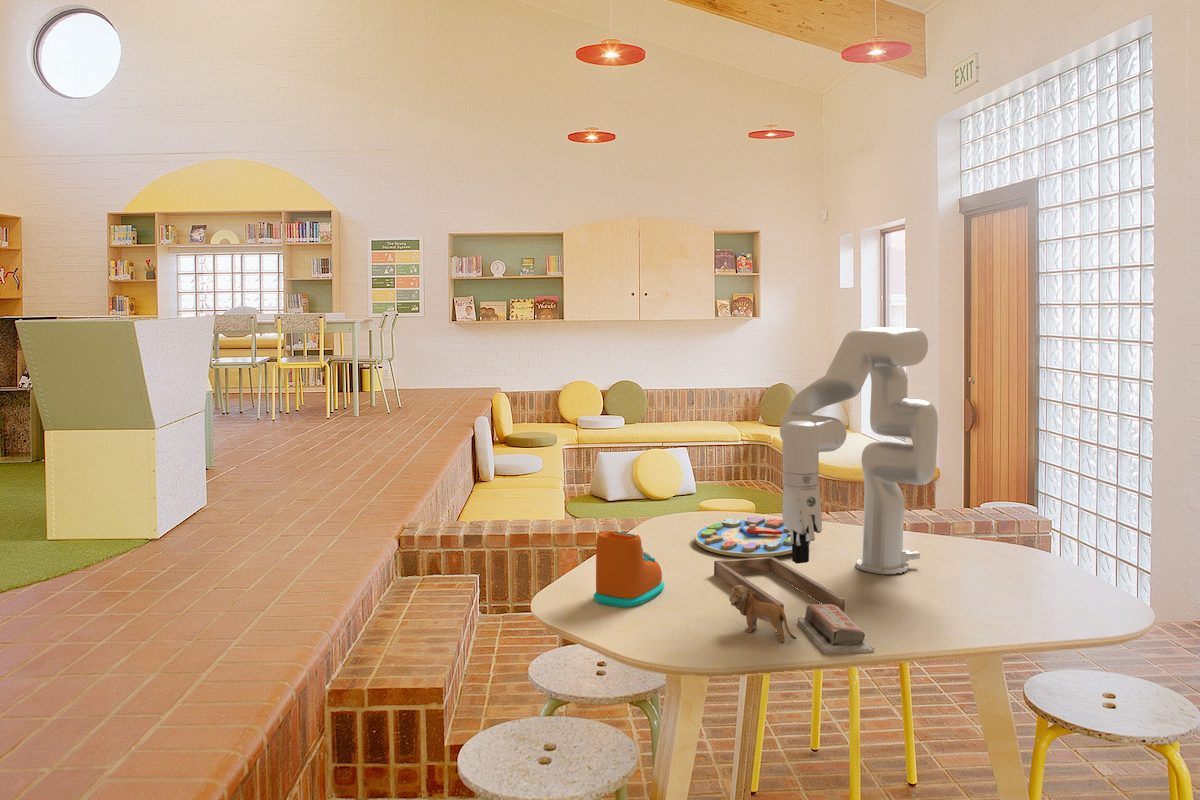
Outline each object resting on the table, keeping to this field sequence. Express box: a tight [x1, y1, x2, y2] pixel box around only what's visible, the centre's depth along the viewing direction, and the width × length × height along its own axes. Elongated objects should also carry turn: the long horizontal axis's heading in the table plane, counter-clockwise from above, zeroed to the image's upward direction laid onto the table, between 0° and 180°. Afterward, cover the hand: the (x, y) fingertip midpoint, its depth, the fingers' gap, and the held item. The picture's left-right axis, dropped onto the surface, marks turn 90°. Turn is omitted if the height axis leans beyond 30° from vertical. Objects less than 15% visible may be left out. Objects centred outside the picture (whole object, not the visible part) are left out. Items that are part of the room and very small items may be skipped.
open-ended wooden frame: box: [713, 556, 846, 614], centre depth 225 cm, size 15×35×4 cm, turn 16°
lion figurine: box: [729, 585, 798, 643], centre depth 198 cm, size 15×5×9 cm, turn 53°
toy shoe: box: [593, 530, 665, 608], centre depth 223 cm, size 12×20×15 cm, turn 150°
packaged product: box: [797, 603, 875, 655], centre depth 196 cm, size 18×5×10 cm
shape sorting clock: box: [694, 516, 794, 558], centre depth 268 cm, size 31×30×6 cm
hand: (800, 561), depth 214 cm, fingers closed
